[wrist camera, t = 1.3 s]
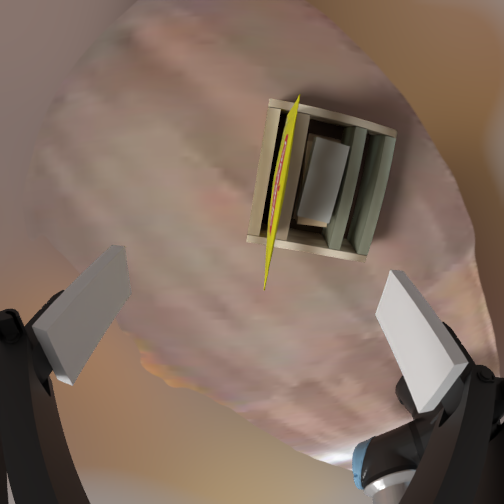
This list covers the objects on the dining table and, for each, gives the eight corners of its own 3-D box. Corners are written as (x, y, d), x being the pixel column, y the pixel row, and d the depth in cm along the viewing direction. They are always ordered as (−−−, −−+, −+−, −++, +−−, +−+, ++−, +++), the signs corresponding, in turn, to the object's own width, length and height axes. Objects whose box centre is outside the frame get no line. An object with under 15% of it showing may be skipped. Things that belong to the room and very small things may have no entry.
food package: (282, 116, 35) (292, 92, 17) (290, 118, 35) (308, 95, 17) (264, 220, 41) (257, 289, 23) (272, 222, 41) (271, 292, 23)
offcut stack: (339, 140, 36) (350, 140, 30) (322, 221, 41) (330, 234, 35) (305, 132, 36) (311, 131, 30) (289, 215, 41) (292, 227, 35)
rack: (380, 131, 35) (397, 130, 29) (353, 246, 42) (364, 262, 36) (269, 104, 35) (269, 98, 29) (249, 227, 42) (246, 241, 36)
